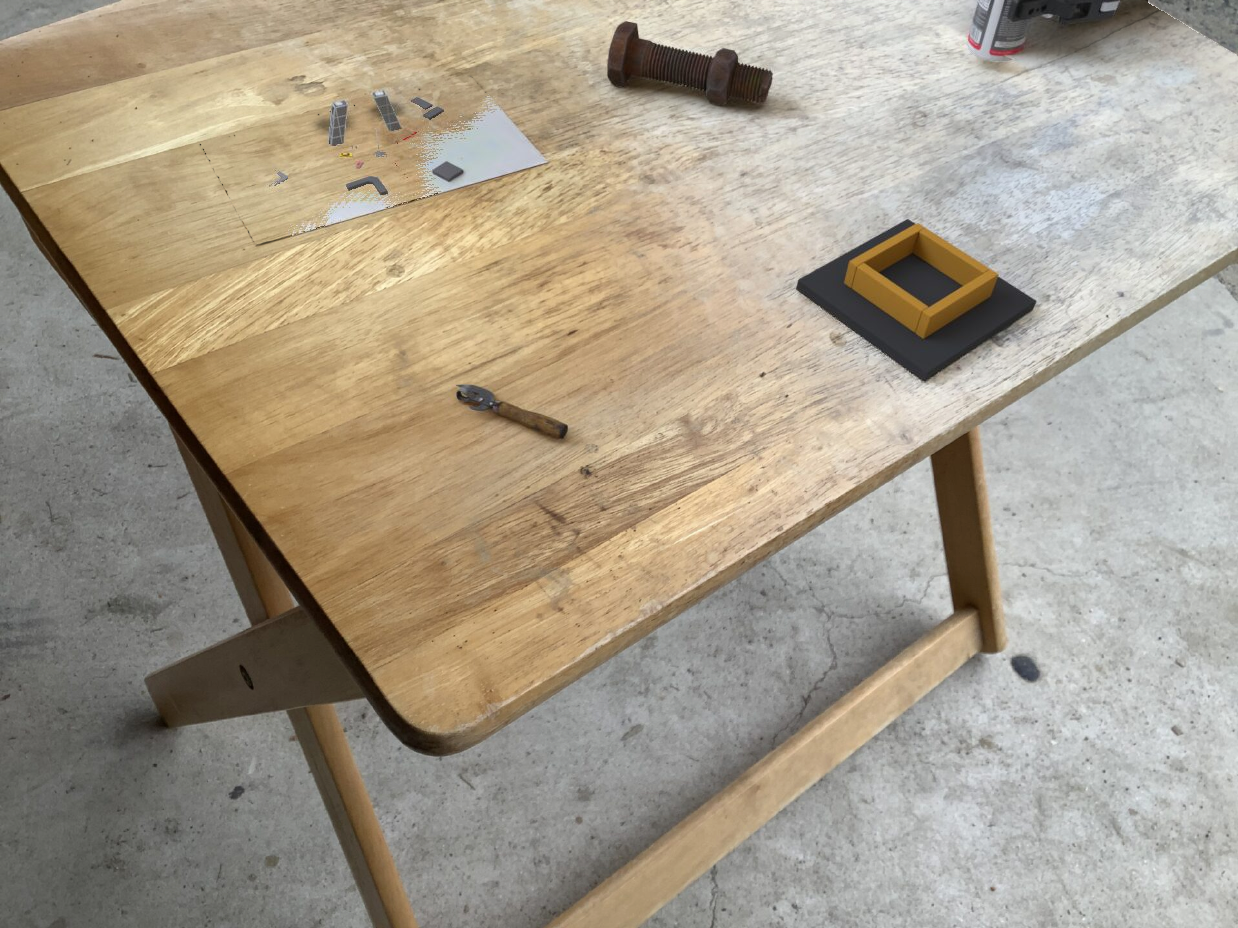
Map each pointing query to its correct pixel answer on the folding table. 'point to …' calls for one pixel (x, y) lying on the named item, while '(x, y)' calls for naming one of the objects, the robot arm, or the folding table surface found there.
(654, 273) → the folding table surface
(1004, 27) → the pill bottle
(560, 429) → the can opener
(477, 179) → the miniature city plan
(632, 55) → the bolt
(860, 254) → the dock
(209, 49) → the folding table surface
